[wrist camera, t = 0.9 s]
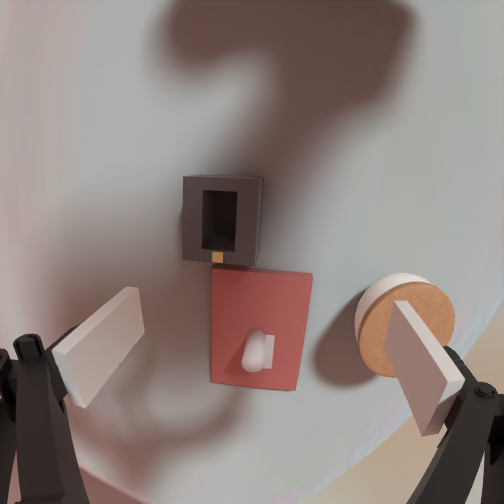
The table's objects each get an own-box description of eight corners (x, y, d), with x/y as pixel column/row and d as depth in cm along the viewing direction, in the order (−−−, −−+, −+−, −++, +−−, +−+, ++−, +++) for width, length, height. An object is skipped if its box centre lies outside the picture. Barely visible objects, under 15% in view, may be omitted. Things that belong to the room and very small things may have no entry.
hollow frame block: (198, 174, 32) (182, 176, 27) (263, 177, 32) (259, 179, 27) (196, 246, 34) (182, 260, 29) (259, 251, 34) (254, 266, 29)
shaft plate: (213, 265, 35) (197, 287, 28) (311, 273, 34) (317, 298, 27) (213, 376, 39) (202, 409, 33) (295, 384, 38) (295, 419, 32)
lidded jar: (348, 348, 36) (362, 397, 27) (342, 268, 33) (359, 304, 24) (426, 331, 34) (455, 373, 25) (427, 252, 32) (466, 281, 23)
